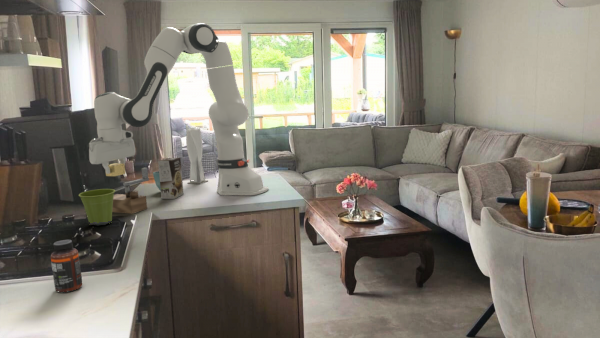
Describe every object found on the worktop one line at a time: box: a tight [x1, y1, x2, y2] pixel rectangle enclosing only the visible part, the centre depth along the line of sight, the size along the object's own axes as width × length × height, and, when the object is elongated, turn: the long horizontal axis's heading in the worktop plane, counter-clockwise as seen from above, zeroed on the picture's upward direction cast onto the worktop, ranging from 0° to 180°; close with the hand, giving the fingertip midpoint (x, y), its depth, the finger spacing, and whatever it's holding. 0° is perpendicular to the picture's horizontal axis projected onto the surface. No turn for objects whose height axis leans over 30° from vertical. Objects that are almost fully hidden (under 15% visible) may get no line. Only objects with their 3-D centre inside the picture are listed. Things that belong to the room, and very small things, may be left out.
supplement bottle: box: [50, 239, 83, 293], centre depth 123 cm, size 6×6×11 cm
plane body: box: [112, 190, 148, 215], centre depth 202 cm, size 15×8×8 cm, turn 64°
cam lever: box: [122, 167, 150, 198], centre depth 204 cm, size 11×2×10 cm, turn 149°
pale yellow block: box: [105, 162, 126, 177], centre depth 202 cm, size 5×5×4 cm
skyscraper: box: [185, 123, 209, 185], centre depth 252 cm, size 8×8×28 cm
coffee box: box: [157, 157, 184, 200], centre depth 222 cm, size 9×6×16 cm
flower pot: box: [152, 170, 161, 192], centre depth 235 cm, size 9×9×9 cm
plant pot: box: [78, 188, 116, 223], centre depth 182 cm, size 12×12×11 cm
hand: (115, 171), depth 202 cm, fingers closed on pale yellow block, 5 cm apart
